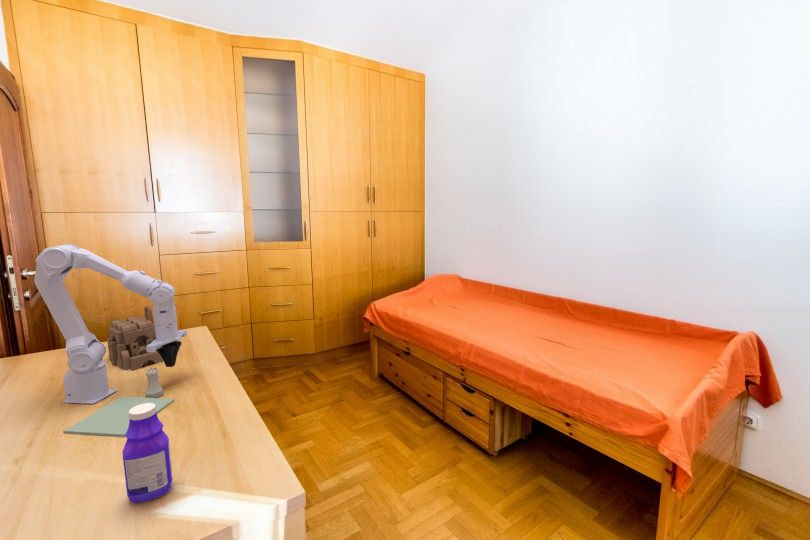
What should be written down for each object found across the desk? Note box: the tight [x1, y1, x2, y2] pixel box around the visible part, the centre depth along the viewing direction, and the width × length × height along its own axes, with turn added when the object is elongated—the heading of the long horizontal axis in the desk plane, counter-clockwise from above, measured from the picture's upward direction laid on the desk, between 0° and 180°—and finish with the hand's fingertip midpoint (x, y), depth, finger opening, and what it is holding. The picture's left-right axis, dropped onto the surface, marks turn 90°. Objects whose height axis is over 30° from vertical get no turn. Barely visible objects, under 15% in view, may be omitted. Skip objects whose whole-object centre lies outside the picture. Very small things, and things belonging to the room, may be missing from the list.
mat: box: [62, 396, 176, 438], centre depth 98 cm, size 16×17×1 cm
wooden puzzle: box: [106, 305, 163, 372], centre depth 135 cm, size 22×15×19 cm, turn 54°
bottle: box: [122, 403, 174, 504], centre depth 70 cm, size 7×6×17 cm
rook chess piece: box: [145, 367, 165, 398], centre depth 108 cm, size 4×4×8 cm
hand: (170, 366), depth 115 cm, fingers closed
